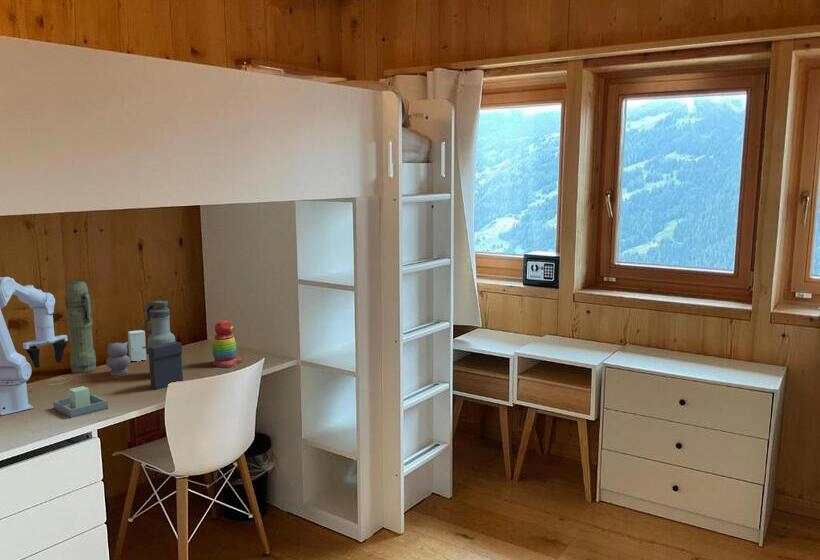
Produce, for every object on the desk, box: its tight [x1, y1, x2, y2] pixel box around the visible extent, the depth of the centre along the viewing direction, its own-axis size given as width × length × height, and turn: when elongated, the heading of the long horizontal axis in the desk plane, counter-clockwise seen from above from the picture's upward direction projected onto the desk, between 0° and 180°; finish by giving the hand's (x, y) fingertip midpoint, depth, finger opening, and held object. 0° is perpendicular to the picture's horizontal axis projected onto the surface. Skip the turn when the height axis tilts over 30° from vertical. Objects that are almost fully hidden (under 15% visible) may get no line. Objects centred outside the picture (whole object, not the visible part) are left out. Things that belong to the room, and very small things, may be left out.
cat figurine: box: [105, 341, 131, 376], centre depth 262 cm, size 8×8×12 cm
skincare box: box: [127, 329, 147, 362], centre depth 281 cm, size 6×4×12 cm
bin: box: [52, 392, 109, 419], centre depth 222 cm, size 12×14×2 cm
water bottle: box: [143, 300, 176, 369], centre depth 258 cm, size 10×10×28 cm
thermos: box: [64, 279, 97, 374], centre depth 265 cm, size 9×12×35 cm
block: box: [68, 385, 91, 409], centre depth 222 cm, size 4×4×6 cm
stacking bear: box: [211, 318, 243, 369], centre depth 273 cm, size 11×10×18 cm
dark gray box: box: [147, 340, 184, 390], centre depth 245 cm, size 11×4×15 cm, turn 141°
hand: (47, 364), depth 241 cm, fingers open, 7 cm apart
